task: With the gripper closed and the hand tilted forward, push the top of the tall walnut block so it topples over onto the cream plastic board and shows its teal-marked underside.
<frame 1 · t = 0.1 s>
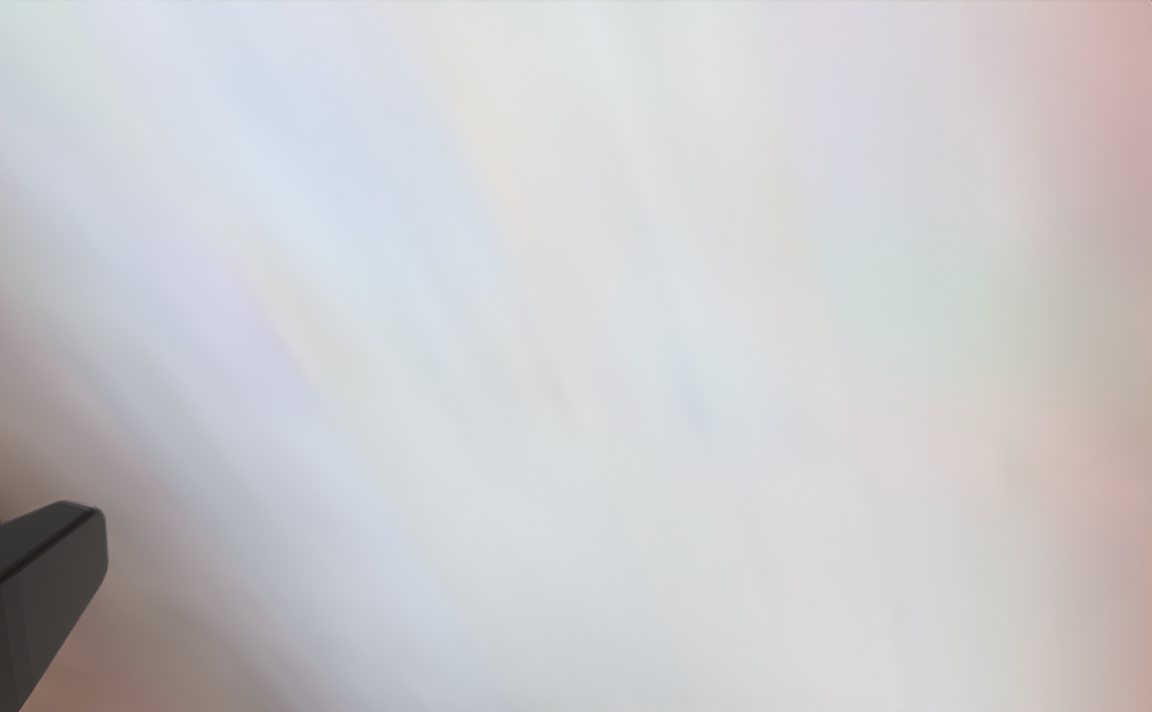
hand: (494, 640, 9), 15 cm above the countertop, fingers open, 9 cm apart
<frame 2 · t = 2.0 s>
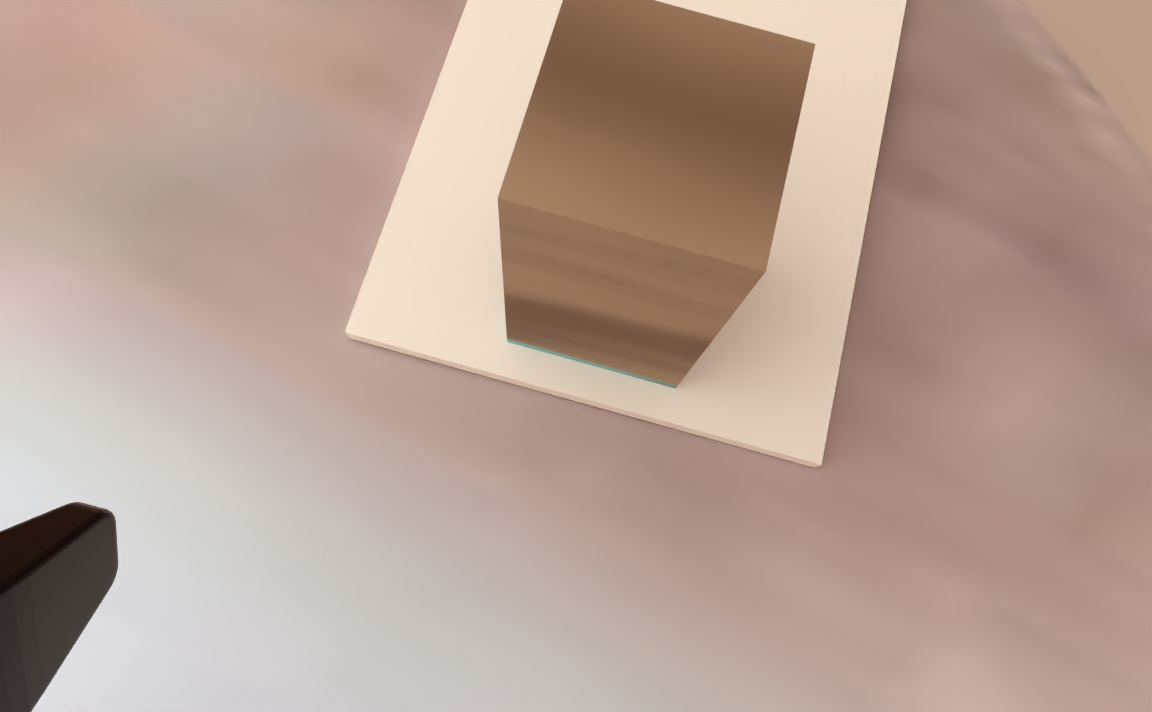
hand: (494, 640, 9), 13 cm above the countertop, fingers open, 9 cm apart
walnut block: (612, 286, 24), point 1 cm above the countertop, touching cream board
cream board: (649, 152, 26), on the countertop
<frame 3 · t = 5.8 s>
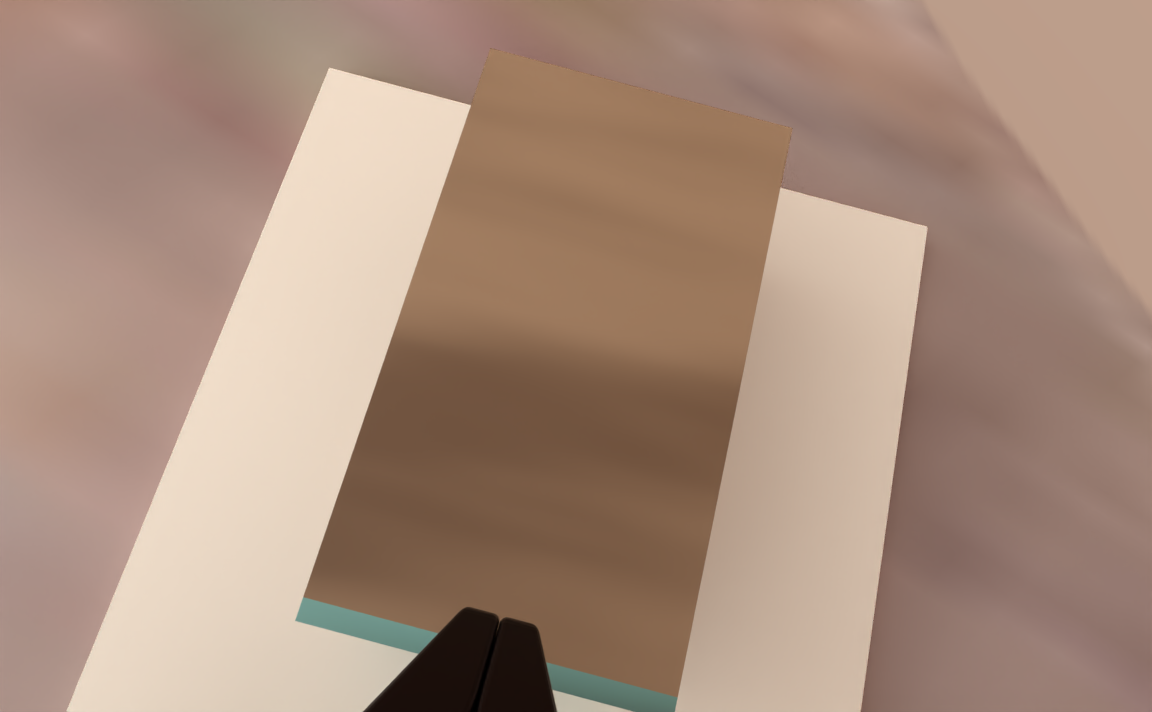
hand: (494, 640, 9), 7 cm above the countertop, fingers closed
walnut block: (489, 656, 13), point 3 cm above the countertop, tilted 90°, touching cream board
cream board: (528, 518, 16), on the countertop
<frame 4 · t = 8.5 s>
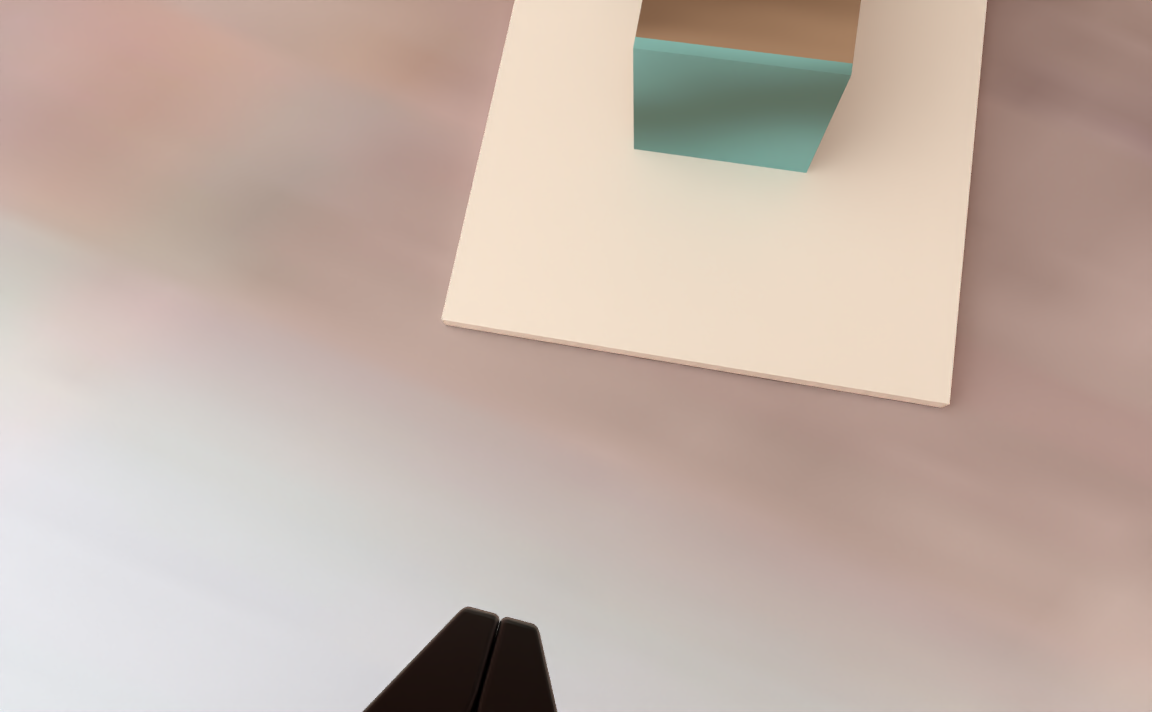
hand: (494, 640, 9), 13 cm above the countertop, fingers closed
walnut block: (728, 116, 21), point 3 cm above the countertop, tilted 90°, touching cream board
cream board: (729, 94, 25), on the countertop
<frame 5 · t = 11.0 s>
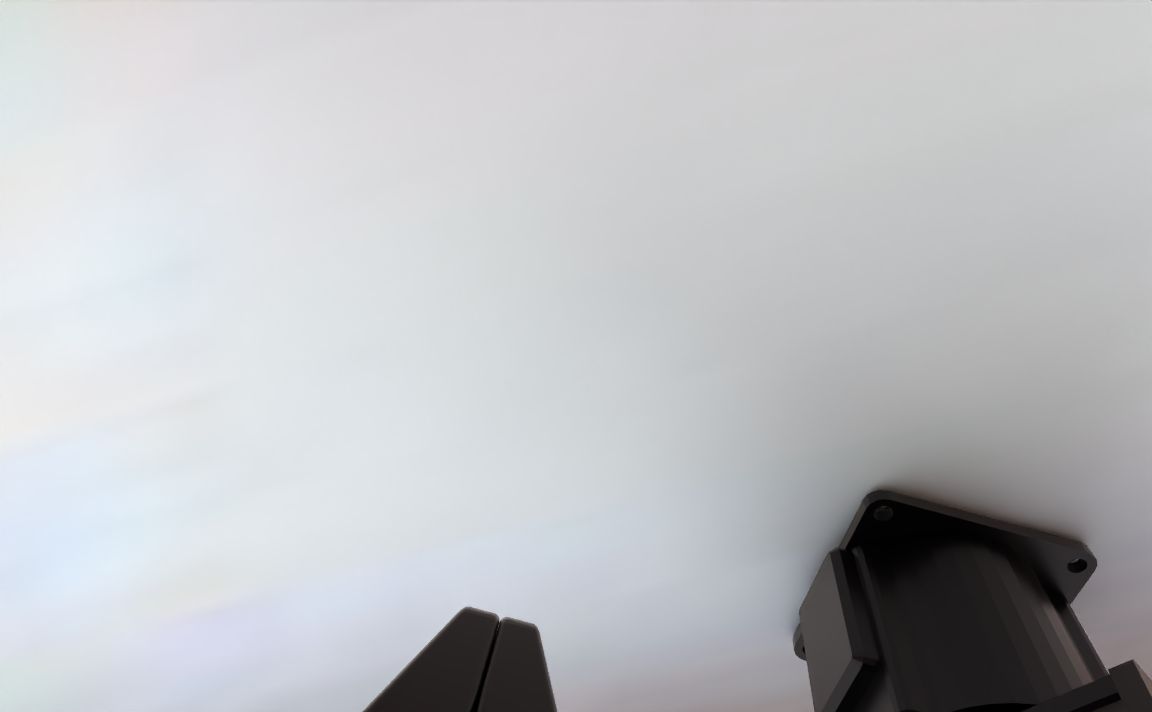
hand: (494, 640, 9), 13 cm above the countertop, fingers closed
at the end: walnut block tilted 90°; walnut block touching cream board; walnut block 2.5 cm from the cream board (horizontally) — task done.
